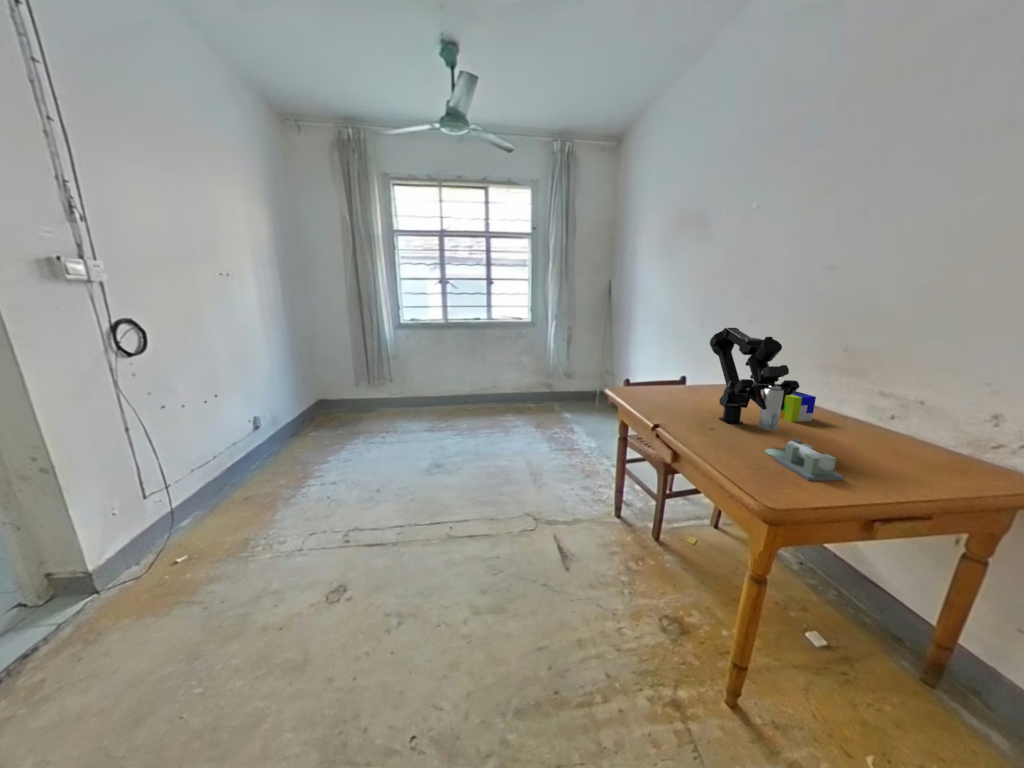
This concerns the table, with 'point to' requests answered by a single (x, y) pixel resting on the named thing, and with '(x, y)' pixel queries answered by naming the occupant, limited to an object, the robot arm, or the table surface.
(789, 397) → the puzzle toy
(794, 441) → the shaft stand
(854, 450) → the table surface
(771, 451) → the pale green disc
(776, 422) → the canister
